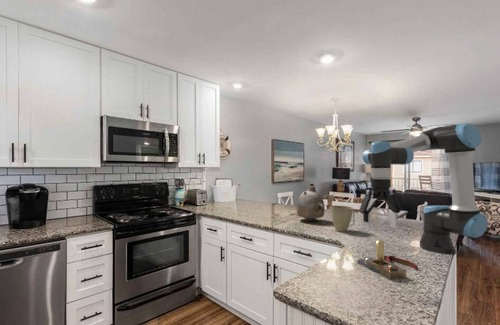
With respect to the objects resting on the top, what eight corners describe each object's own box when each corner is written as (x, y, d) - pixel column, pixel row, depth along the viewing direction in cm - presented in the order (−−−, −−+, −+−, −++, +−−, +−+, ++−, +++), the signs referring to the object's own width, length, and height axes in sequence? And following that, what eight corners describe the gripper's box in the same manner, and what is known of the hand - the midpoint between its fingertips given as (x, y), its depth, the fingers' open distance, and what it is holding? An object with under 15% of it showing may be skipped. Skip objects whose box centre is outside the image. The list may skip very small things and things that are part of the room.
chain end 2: (380, 265, 114) (380, 256, 114) (406, 277, 101) (406, 267, 102) (365, 267, 111) (365, 257, 112) (390, 279, 99) (390, 269, 99)
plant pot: (349, 234, 166) (349, 209, 166) (326, 230, 175) (326, 207, 175) (355, 230, 178) (355, 206, 178) (334, 226, 186) (334, 204, 187)
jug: (290, 221, 203) (290, 183, 204) (301, 217, 221) (301, 182, 221) (320, 225, 189) (321, 184, 190) (330, 220, 207) (330, 183, 207)
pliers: (389, 255, 129) (389, 249, 129) (419, 271, 109) (419, 265, 109) (367, 255, 128) (367, 250, 128) (394, 272, 108) (394, 266, 108)
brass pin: (380, 268, 111) (380, 239, 111) (385, 270, 108) (385, 241, 108) (374, 268, 110) (374, 240, 110) (380, 271, 107) (379, 242, 107)
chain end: (372, 261, 119) (372, 255, 119) (395, 272, 106) (395, 266, 106) (357, 262, 116) (357, 257, 116) (379, 274, 104) (379, 268, 104)
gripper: (396, 177, 117) (396, 224, 116) (350, 178, 109) (350, 228, 109) (411, 178, 110) (411, 228, 109) (362, 179, 102) (362, 233, 102)
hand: (380, 228), depth 109 cm, fingers open, 13 cm apart
